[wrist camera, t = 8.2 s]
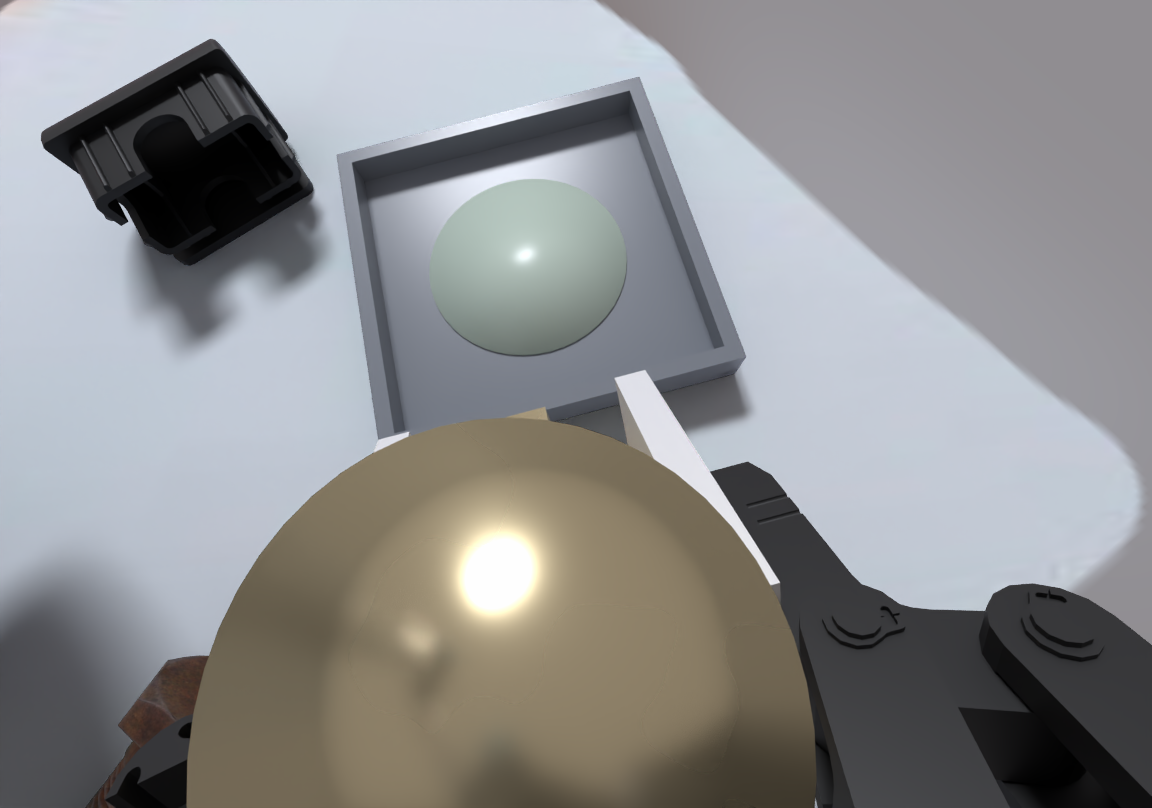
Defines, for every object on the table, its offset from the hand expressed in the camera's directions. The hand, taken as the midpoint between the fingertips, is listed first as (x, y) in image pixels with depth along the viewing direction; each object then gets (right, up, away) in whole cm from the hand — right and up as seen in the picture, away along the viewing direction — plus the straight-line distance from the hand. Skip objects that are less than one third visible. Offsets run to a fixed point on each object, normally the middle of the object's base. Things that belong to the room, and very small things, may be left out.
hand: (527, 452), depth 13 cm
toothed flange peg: (+1, -5, +3) cm, 5 cm away
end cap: (-21, +15, +20) cm, 32 cm away
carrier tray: (-1, +9, +17) cm, 19 cm away
